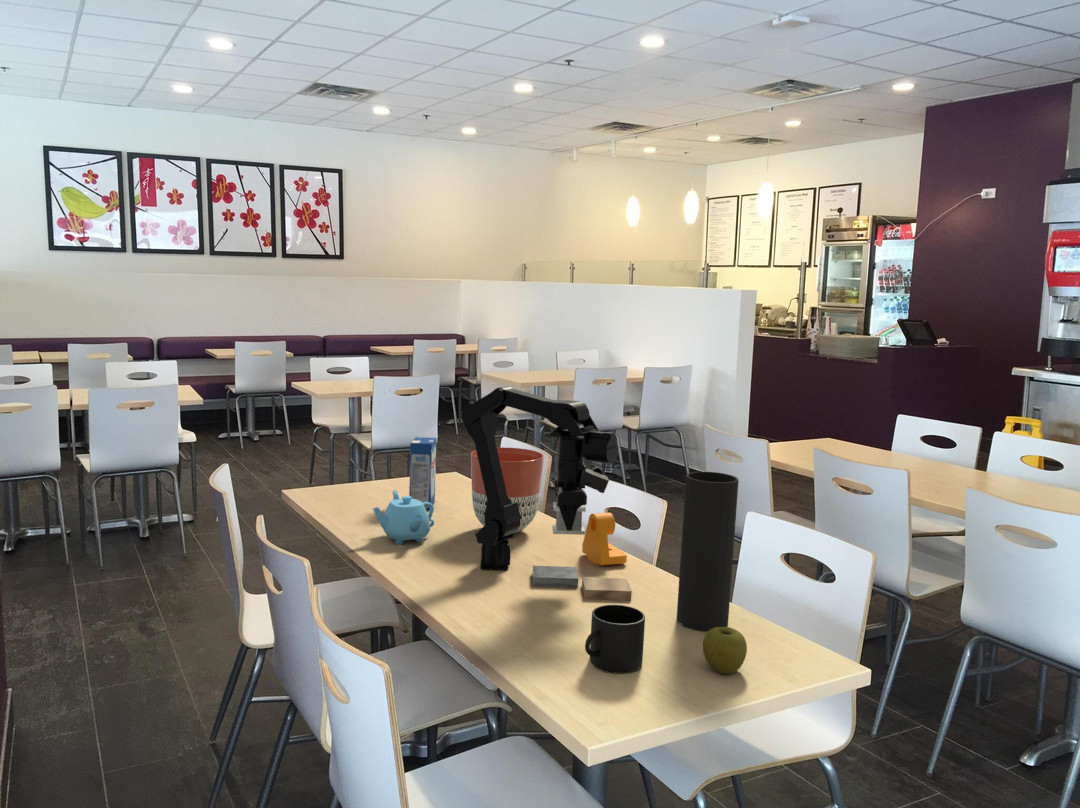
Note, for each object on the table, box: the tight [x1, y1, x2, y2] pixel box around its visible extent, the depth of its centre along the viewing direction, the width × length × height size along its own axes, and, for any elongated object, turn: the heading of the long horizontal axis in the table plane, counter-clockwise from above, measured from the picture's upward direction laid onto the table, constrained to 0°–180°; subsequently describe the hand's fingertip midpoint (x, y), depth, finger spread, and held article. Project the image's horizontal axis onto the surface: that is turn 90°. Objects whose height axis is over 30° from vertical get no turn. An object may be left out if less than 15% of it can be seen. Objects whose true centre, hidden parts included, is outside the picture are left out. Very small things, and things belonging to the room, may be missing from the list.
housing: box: [551, 501, 587, 536], centre depth 189 cm, size 7×5×6 cm
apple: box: [702, 626, 748, 675], centre depth 150 cm, size 8×8×7 cm
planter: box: [470, 446, 545, 534], centre depth 229 cm, size 20×20×21 cm
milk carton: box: [408, 436, 437, 512], centre depth 252 cm, size 10×6×20 cm, turn 179°
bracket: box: [581, 512, 628, 566], centre depth 208 cm, size 11×7×12 cm, turn 22°
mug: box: [584, 604, 646, 674], centre depth 150 cm, size 9×12×9 cm
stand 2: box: [581, 576, 633, 601], centre depth 186 cm, size 10×8×2 cm
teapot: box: [372, 489, 435, 546], centre depth 219 cm, size 15×14×11 cm
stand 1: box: [532, 565, 579, 588], centre depth 193 cm, size 10×8×2 cm
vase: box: [676, 471, 739, 632], centre depth 170 cm, size 10×10×30 cm
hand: (568, 526), depth 190 cm, fingers closed on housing, 5 cm apart
